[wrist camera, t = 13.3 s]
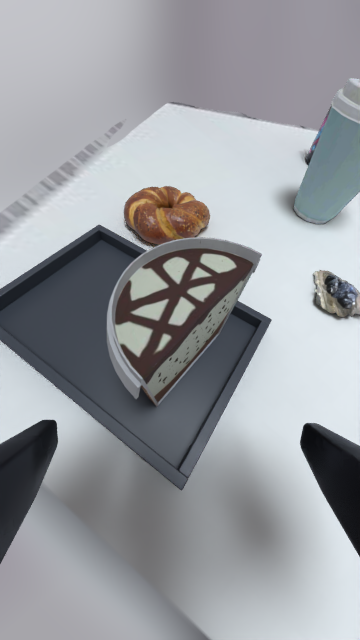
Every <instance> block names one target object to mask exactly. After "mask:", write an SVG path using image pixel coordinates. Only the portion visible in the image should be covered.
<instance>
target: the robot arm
mask: <svg viewBox="0 0 360 640" xmlns="http://www.w3.org/2000/svg"><path fill="white" fill-rule="evenodd" d="M57 443H58V436H57V423H56V421H55V420H42V421H40V422H38V423H36V424H35V425H33V426H31V427H29V428H28V429H26V430H24V431H22V432H21V433H19V434H17V435H15V436H14V437H12V438H10V439H8V440H7V441H5V442H3V443H1V444H0V563H1V562H2V560H3V558H4V556H5V554H6V552H7V550H8V548H9V546H10V545H11V543H12V541H13V539H14V537H15V535H16V533H17V531H18V530H19V527H20V526H21V524H22V522H23V520H24V518H25V516H26V514H27V513H28V510H29V509H30V507H31V505H32V503H33V501H34V499H35V497H36V495H37V492H38V490H39V488H40V486H41V483H42V481H43V479H44V476H45V474H46V471H47V469H48V467H49V464H50V462H51V459H52V457H53V455H54V452H55V450H56V447H57ZM300 445H301V449H302V451H303V453H304V455H305V457H306V459H307V462H308V464H309V466H310V468H311V470H312V472H313V474H314V476H315V478H316V480H317V482H318V484H319V487H320V488H321V490H322V492H323V494H324V496H325V498H326V500H327V501H328V503H329V505H330V507H331V508H332V510H333V512H334V514H335V515H336V517H337V519H338V520H339V522H340V524H341V526H342V527H343V529H344V531H345V532H346V534H347V536H348V538H349V539H350V541H351V543H352V544H353V546H354V548H355V550H356V551H357V553H358V555H359V556H360V446H359V445H357V444H355V443H353V442H351V441H349V440H347V439H345V438H343V437H342V436H340V435H338V434H336V433H334V432H332V431H330V430H328V429H326V428H325V427H323V426H321V425H319V424H316V423H306V424H305V425H304V426H303V431H302V436H301V441H300Z"/></svg>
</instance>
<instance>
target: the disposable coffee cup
mask: <svg viewBox="0 0 360 640" xmlns="http://www.w3.org/2000/svg"><path fill="white" fill-rule="evenodd" d="M359 192H360V79H353V78H350V79H349V80H348V81H347V84H346V85H345V87H344V88H343V89H340V90H338V92H337V94H336V95H335V97H334V99H333V100H332V108H331V110H330V113H329V115H328V118H327V120H326V123H325V125H324V128H323V130H322V133H321V135H320V138H319V141H318V143H317V146H316V148H315V151H314V153H313V156H312V158H311V161H310V163H309V166H308V168H307V171H306V173H305V176H304V178H303V181H302V184H301V186H300V189H299V191H298V194H297V196H296V199H295V204H294V210H295V212H296V213H297V215H298V216H300V217H301V218H303V219H304V220H306V221H309V222H312V223H315V224H324V223H326V222H328V221H329V220H330V219H332V218H334V217H335V216H336V215H337V214H338V213H339V212H340V211H341V210H342V209H343V208H344V207H345V206H346V205H347V204H348V203H349V202H350V201H351V200H352V199H353V198H354V197H355V196H356V195H357V194H358V193H359Z"/></svg>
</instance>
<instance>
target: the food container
mask: <svg viewBox="0 0 360 640" xmlns="http://www.w3.org/2000/svg"><path fill="white" fill-rule="evenodd" d="M261 255H262V254H261V253H259V252H257V251H255V250H253V249H251V248H249V247H246V246H243V245H241V244H238V243H234V242H230V241H227V240H221V239H215V238H202V237H200V238H185V239H178V240H174V241H170V242H166V243H163V244H161V245H158V246H156V247H153V248H152V249H150V250H148V251H146V252H145V253H143V254H141V255H140V256H139V257H138V258H136V259H135V260H134V261H133V262H132V263H131V264H130V265H129V266H128V267H127V268H126V269H125V271H124V272H123V274H122V275H121V277H120V278H119V280H118V282H117V284H116V286H115V288H114V290H113V293H112V296H111V298H110V301H109V306H108V312H107V345H108V350H109V355H110V358H111V361H112V363H113V366H114V369H115V371H116V373H117V375H118V376H119V378H120V379H121V381H122V383H123V384H124V386H125V387H126V388H127V390H128V391H129V392H130V393H131V394H132V395H133V396H134V398H135V399H137V398H138V397H139V391H140V387H142V389H143V390H144V392H145V393H146V395H147V396H148V397H149V399H150V400H151V401H152V402H153V403H154V404H155V406H156V407H157V406H158V405H159V404H160V403H161V402H162V400H163V399H164V398H165V397H166V396H167V395H168V393H169V392H170V391H171V390H172V389H173V388H174V386H175V385H176V384H177V383H178V382H179V381H180V379H181V378H182V377H183V376H184V375H185V374H186V372H187V371H188V370H189V369H190V368H191V367H192V365H193V364H194V363H195V362H196V361H197V360H198V358H199V357H200V356H201V355H202V354H203V353H204V351H205V350H206V349H207V348H208V347H209V346H210V344H211V343H212V342H213V341H214V340H215V339H216V337H217V336H218V335H219V334H220V332H221V330H222V328H223V326H224V324H225V323H226V321H227V319H228V317H229V315H230V313H231V311H232V310H233V308H234V306H235V304H236V302H237V300H238V298H239V296H240V295H241V293H242V291H243V289H244V287H245V285H246V283H247V282H248V280H249V278H250V276H251V274H252V272H253V273H254V272H255V270H256V268H257V265H258V263H259V261H260V257H261Z"/></svg>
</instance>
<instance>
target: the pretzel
mask: <svg viewBox="0 0 360 640" xmlns="http://www.w3.org/2000/svg"><path fill="white" fill-rule="evenodd" d="M124 218H125V221H126V223H127V224H128V226H129V227H130V228H132V229H133V230H135V231H136V232H137V233H138V234H139V235H140V237H141V238H142V239H143V240H145V241H147V242H150V243H154V244H163V243H166V242H170V241H172V240H178V239H183V238H184V239H185V238H194V237H195V236H196V235H197V234H199V232H200V230H201V229H202V228H204V227H206V225H207V224H208V223H209V219H210V214H209V209H208V208H207V206H206V205H205V204H203V203H202V202H200V201H197V200H195V198H194V196H193V195H191V194H190V193H187V192H185V193H181V192H180V191H179V190H178V189H177V188H174V187H170V186H165V187H161V188H158V187H148V188H144V189H142V190H141V191H139V192H137V193H135V194H134V195H132V196H131V197H130V198H129V199H128V201H127V202H126V204H125V207H124Z"/></svg>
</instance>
